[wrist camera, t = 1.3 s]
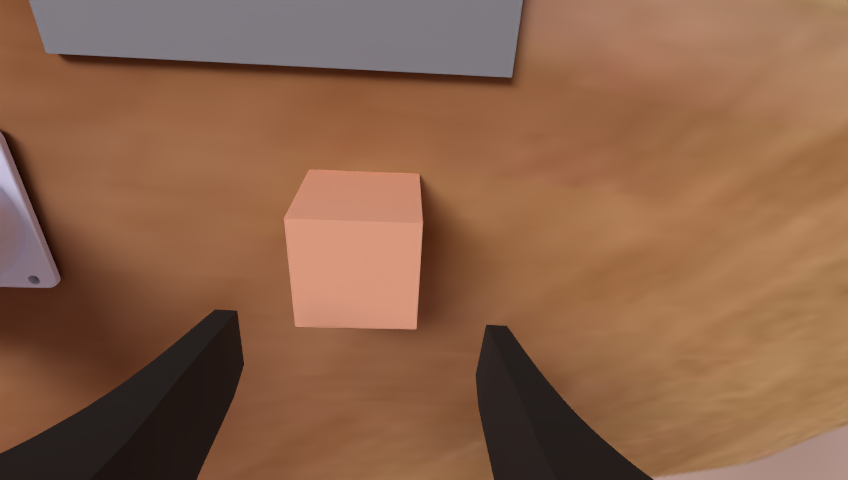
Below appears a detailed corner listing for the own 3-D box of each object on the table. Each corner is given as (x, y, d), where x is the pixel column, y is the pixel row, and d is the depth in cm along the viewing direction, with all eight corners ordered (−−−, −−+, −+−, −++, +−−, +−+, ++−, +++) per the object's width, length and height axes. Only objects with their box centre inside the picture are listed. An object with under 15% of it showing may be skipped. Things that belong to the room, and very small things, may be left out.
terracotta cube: (316, 262, 23) (295, 326, 19) (309, 168, 21) (283, 218, 16) (414, 264, 24) (416, 329, 19) (419, 173, 21) (422, 223, 17)
